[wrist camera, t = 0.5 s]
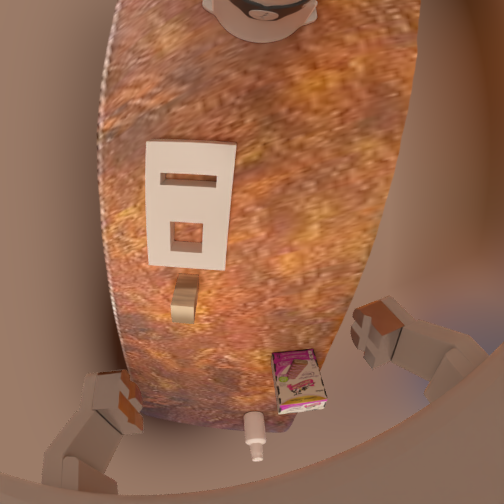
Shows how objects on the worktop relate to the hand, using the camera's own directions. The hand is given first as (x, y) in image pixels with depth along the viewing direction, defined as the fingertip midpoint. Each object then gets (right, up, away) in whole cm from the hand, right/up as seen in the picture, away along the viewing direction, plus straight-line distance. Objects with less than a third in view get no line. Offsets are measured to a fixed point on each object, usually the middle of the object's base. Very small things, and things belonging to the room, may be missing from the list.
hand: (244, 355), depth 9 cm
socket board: (-11, +12, +39) cm, 42 cm away
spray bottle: (+1, -53, +75) cm, 92 cm away
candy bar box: (+11, -24, +60) cm, 66 cm away
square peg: (-13, -3, +47) cm, 48 cm away
